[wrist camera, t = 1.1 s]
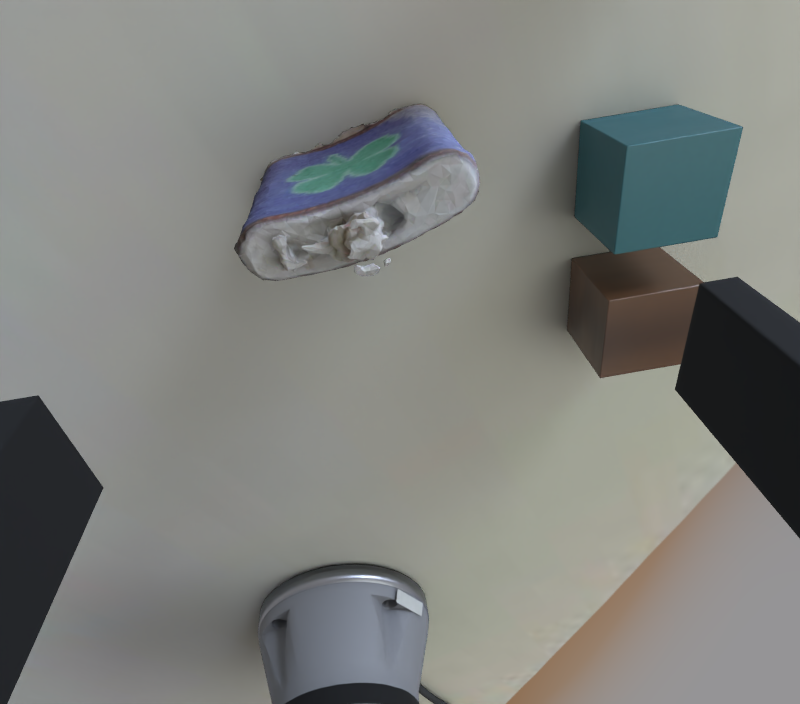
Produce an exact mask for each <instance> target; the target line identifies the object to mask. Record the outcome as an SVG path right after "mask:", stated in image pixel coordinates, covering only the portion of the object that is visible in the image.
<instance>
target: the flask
mask: <svg viewBox="0 0 800 704" xmlns="http://www.w3.org/2000/svg"><path fill="white" fill-rule="evenodd" d="M389 114H390V115H389V116H387V117H385V118H384V119H383V120H379V121H377V122H374V123H373V124H368V125H366V126H365V125H364V124H362V125H360V126H358V127H355V128H353V127H351V128H350V129H349V130H348V131H344V132H342V133H341V135H339V138H336V140H335V141H333V143H331V144H328V145H323V144H321V143H318V145H317V146H315V148H313V149H312V150H311V151H308V152H306V153H303V152H300V153H298V152H297V151H295V152H296V153H294V154H292V155H289V156H283V157H282V158H279V159H276V160H273V161H271V162H270V164H269V165H268V167H267V169H266V171H265V173H264V176H263V177H262V178H261V179H260V180H261V181H262V182H261V185H260V188H259V190H258V192H257V193H256V195H255V196H254V201H253V205H252V208H251V211H250V213H249V216H248V219H247V221H246V222H245V224H244V225H243V228H242V231H241V234H240V237H239V240H238V242H237V243H236V244H235V248H234V249H235V251H236V253H237V254H238V255H239V257H240V259H241V261H242V262H243V264H244V265H245V266H246V267H247V269H248V270H249V271H250V272H252V273H253V274H254V275H256V276H258V277H259V278H261V279H262V280H273V281H279V280H285V279H291V278H295V277H300V276H307V275H313V274H317V273H322V272H326V271H330V270H335V269H339V268H343V267H347V266H351V265H353V264H356V263H358V262H362V261H367V260H369V259H370V260H374V258H375V257H376V256H378V255H381V254H384V253H386V252H388V251H390V250H392V249H395V248H398V247H399V246H401V245H403V244H405V243H407V242H410V241H412V240H413V239H415V238H417V237H419V236H421V235H423V234H424V233H426V232H427V231H429V230H431V229H434V228H436V227H438V226H440V225H441V224H443V223H445V222H447V221H448V220H450V219H451V218H452V217H454V216H456V215H458V214H460V213H461V212H462V211H463V210H464V209H465V208H466V207H468V206H469V205H470V204H471V203H472V202H473V201H474V200H475V198H476V196H477V194H478V192H479V185H480V177H479V171H478V168H477V164H476V161H475V159H474V157H473V156H472V154H471V153H469V152H468V151H466V150H464V149H463V148H462V146H461V145H460V144H459V143H458V142H457V140H456V139H455V138H454V137H453V135H452V133H451V132H450V131H449V129H448V128H447V127H446V126H445V125H444V124H443V122H442V121H441V119H440V118H439V116H438V114H437V113H436V112H435V111H434V110H432V109H431V108H429V107H428V106H425V105H422V104H417V105H411V106H407V107H404V108H400V109H394V110H393V111H390V112H389ZM383 262H384V266H388V265H389V264H390V262H391V260H390V259H389V258H387V259H386V260H385V261H383ZM379 270H380V267H379V266H377V265H375V264H374V263H372V264H369V265H365V266H359V265H355V267H354V271H355V273H356V274H357V275H360V276H374V275H376V274H378V272H379Z"/></svg>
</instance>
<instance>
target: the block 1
mask: <svg viewBox="0 0 800 704" xmlns="http://www.w3.org/2000/svg"><path fill="white" fill-rule="evenodd" d="M742 129H743V127H742V126H739V125H736V124H733V123H731V122H728V121H725V120H722V119H719V118H716V117H713V116H710V115H708V114H705V113H702V112H699V111H696V110H693V109H690V108H687V107H685V106H682V105H673V106H667V107H661V108H655V109H649V110H643V111H637V112H631V113H624V114H618V115H612V116H606V117H600V118H594V119H588V120H582V121H581V125H580V140H579V155H578V171H577V186H576V201H575V218H576V219H577V220H578V221H580V222H581V223H582V224H583V225H584V226H585V227H586V228H587V229H588V230H589V231H590V232H591V233H592V234H593V235H594V236H595V237H596V238H597V239H598V240H600V241H601V242H602V243H603V244H604V245H605V246H606V247H607V248H608V249H609V250H610V251H611V252H612V253H613V254H621V253H627V252H633V251H639V250H645V249H651V248H656V247H662V246H668V245H674V244H680V243H686V242H692V241H698V240H703V239H709V238H715V237H717V236H718V232H719V227H720V223H721V219H722V215H723V210H724V206H725V202H726V197H727V193H728V189H729V185H730V180H731V176H732V172H733V168H734V163H735V159H736V155H737V151H738V146H739V142H740V138H741V134H742Z"/></svg>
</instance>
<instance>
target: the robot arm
mask: <svg viewBox="0 0 800 704" xmlns="http://www.w3.org/2000/svg"><path fill="white" fill-rule="evenodd" d="M675 390H676V391H677V392H678V394H679V395H680V396H681V397H682V398H683V400H684V401H685V402H686V403H687V404H688V406H689V407H690V408H691V409H692V410H693V412H694V413H695V414H696V415H697V416H698V418H699V419H700V420H701V421H702V422H703V423H704V425H705V426H706V427H707V428H708V429H709V431H710V432H711V433H712V434H713V435H714V437H715V438H716V439H717V440H718V441H719V443H720V444H721V445H722V446H723V447H724V449H725V450H726V451H727V452H728V453H729V455H730V456H731V457H732V458H733V459H734V460H735V462H736V463H737V464H738V465H739V466H740V468H741V469H742V470H743V471H744V472H745V473H746V475H747V476H748V477H749V478H750V479H751V481H752V482H753V483H754V484H755V485H756V487H757V488H758V489H759V490H760V491H761V493H762V494H763V495H764V496H765V497H766V499H767V500H768V501H769V502H770V503H771V505H772V506H773V507H774V508H775V509H776V511H777V512H778V513H779V514H780V515H781V517H782V518H783V519H784V520H785V521H786V522H787V524H788V525H789V526H790V527H791V528H792V530H793V531H794V532H795V533H796V534H797V536H798V537H799V538H800V322H798V321H797V320H796V319H794V318H793V317H791V316H790V315H789V314H787V313H786V312H785V311H783V310H782V309H781V308H779V307H778V306H776V305H775V304H774V303H772V302H771V301H770V300H768V299H767V298H766V297H764V296H763V295H761V294H760V293H759V292H757V291H756V290H755V289H753V288H752V287H751V286H749V285H748V284H746V283H745V282H744V281H742V280H741V279H740V278H738V277H734V278H728V279H722V280H716V281H710V282H704V283H699V288H698V292H697V296H696V301H695V305H694V309H693V314H692V318H691V322H690V327H689V331H688V335H687V340H686V344H685V348H684V353H683V357H682V361H681V366H680V370H679V374H678V379H677V383H676V387H675ZM102 490H103V486H102V485H101V484H100V482H99V481H98V479H97V478H96V477H95V475H94V474H93V472H92V471H91V469H90V468H89V467H88V465H87V464H86V462H85V461H84V459H83V458H82V457H81V455H80V454H79V452H78V451H77V450H76V448H75V447H74V445H73V444H72V442H71V441H70V440H69V438H68V437H67V435H66V434H65V432H64V431H63V430H62V428H61V427H60V425H59V424H58V423H57V421H56V420H55V418H54V417H53V415H52V414H51V413H50V411H49V410H48V408H47V407H46V405H45V404H44V403H43V401H42V400H41V398H40V397H39V396H32V397H26V398H20V399H14V400H8V401H2V402H0V704H7V703H8V701H9V699H10V696H11V694H12V692H13V690H14V687H15V685H16V683H17V681H18V678H19V676H20V674H21V672H22V669H23V667H24V665H25V663H26V660H27V658H28V656H29V654H30V651H31V649H32V647H33V645H34V642H35V640H36V638H37V636H38V633H39V631H40V629H41V627H42V624H43V622H44V620H45V618H46V615H47V613H48V611H49V609H50V606H51V604H52V602H53V600H54V597H55V595H56V593H57V591H58V588H59V586H60V584H61V582H62V579H63V577H64V575H65V573H66V570H67V568H68V566H69V564H70V561H71V559H72V557H73V555H74V552H75V550H76V548H77V546H78V543H79V541H80V539H81V537H82V535H83V532H84V530H85V528H86V526H87V523H88V521H89V519H90V517H91V514H92V512H93V510H94V508H95V505H96V503H97V501H98V499H99V496H100V494H101V492H102ZM428 624H429V615H428V609H427V603H426V598H425V595H424V592H423V591H422V589H421V588H420V586H419V585H418V584H417V583H416V582H414V581H413V580H412V579H410V578H409V577H407V576H405V575H403V574H401V573H399V572H396V571H394V570H390V569H387V568H382V567H377V566H370V565H338V566H331V567H325V568H320V569H316V570H313V571H309V572H306V573H303V574H301V575H298V576H296V577H294V578H292V579H290V580H288V581H286V582H285V583H283V584H281V585H280V586H279V587H277V588H276V589H275V590H274V591H273V592H271V593H270V595H269V596H268V597H267V598H266V600H265V601H264V603H263V605H262V607H261V611H260V619H259V628H258V638H259V646H260V650H261V655H262V660H263V664H264V669H265V673H266V678H267V682H268V687H269V692H270V696H271V701H272V704H419V693H420V694H421V695H423V696H424V697H425V698H427V699H428V700H430V701H431V702H433V703H434V704H447V703H445V702H444V701H442V700H440V699H439V698H437V697H436V696H434V695H433V694H431V693H430V692H429V691H428V690H426V689H425V688H424V687H423V686H422V685H421V684H420V680H421V674H422V667H423V661H424V654H425V648H426V641H427V635H428Z"/></svg>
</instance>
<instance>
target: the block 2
mask: <svg viewBox="0 0 800 704" xmlns="http://www.w3.org/2000/svg"><path fill="white" fill-rule="evenodd" d="M699 283H704V282H703V281H701V280H700V279H699V278H698V277H696V276H695V275H694V274H693V273H691V272H690V271H689V270H688V269H686V268H685V267H684V266H683V265H681V264H680V263H679V262H678V261H676V260H675V259H674V258H673V257H671V256H670V255H669V254H668V253H666V252H665V251H664V250H663V249H661V248H660V247H656V248H651V249H645V250H639V251H633V252H627V253H621V254H613V253H612V252H608V253H602V254H596V255H590V256H585V257H579V258H573V259H572V263H571V278H570V293H569V309H568V324H567V331H568V332H569V334H570V335H571V336H572V338H573V339H574V341H575V342H576V344H577V345H578V347H579V348H580V350H581V351H582V352H583V354H584V355H585V357H586V358H587V360H588V361H589V363H590V364H591V366H592V367H593V368H594V370H595V371H596V373H597V374H598V376H599V377H600V378H603V377H609V376H615V375H620V374H626V373H632V372H638V371H644V370H649V369H655V368H661V367H667V366H672V365H678V364H681V361H682V357H683V353H684V348H685V344H686V340H687V335H688V331H689V327H690V322H691V318H692V314H693V309H694V305H695V301H696V296H697V292H698V288H699Z"/></svg>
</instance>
